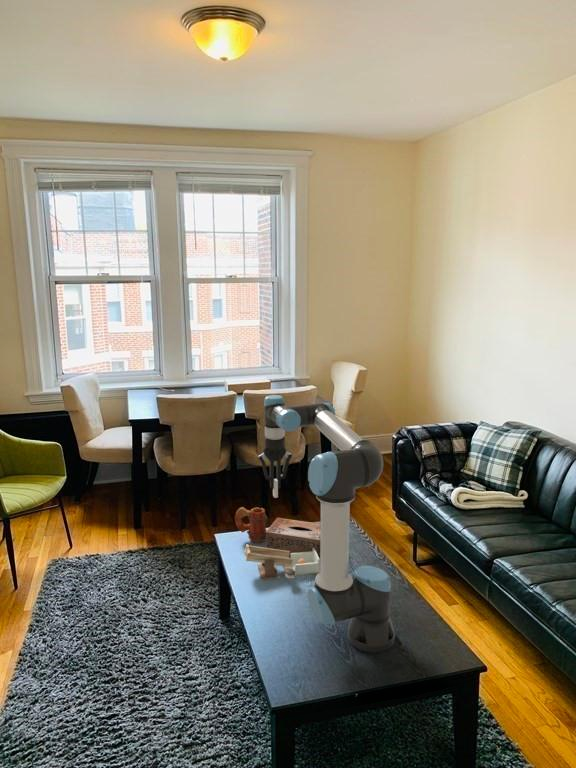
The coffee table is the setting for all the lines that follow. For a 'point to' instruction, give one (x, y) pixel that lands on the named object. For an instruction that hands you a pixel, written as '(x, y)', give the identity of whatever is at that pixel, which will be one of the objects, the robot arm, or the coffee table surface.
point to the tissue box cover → (293, 536)
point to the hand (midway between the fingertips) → (275, 496)
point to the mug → (252, 523)
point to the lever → (270, 557)
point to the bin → (311, 563)
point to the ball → (301, 561)
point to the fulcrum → (268, 570)
